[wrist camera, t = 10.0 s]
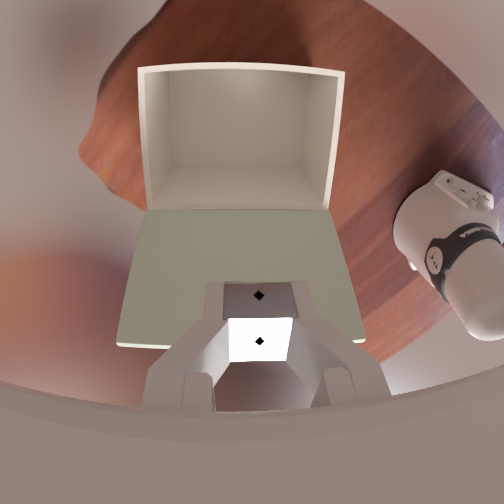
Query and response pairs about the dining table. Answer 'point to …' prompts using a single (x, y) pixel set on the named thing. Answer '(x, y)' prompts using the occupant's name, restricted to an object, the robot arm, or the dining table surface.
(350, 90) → the dining table surface
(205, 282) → the lid flap
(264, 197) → the carton
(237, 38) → the dining table surface
